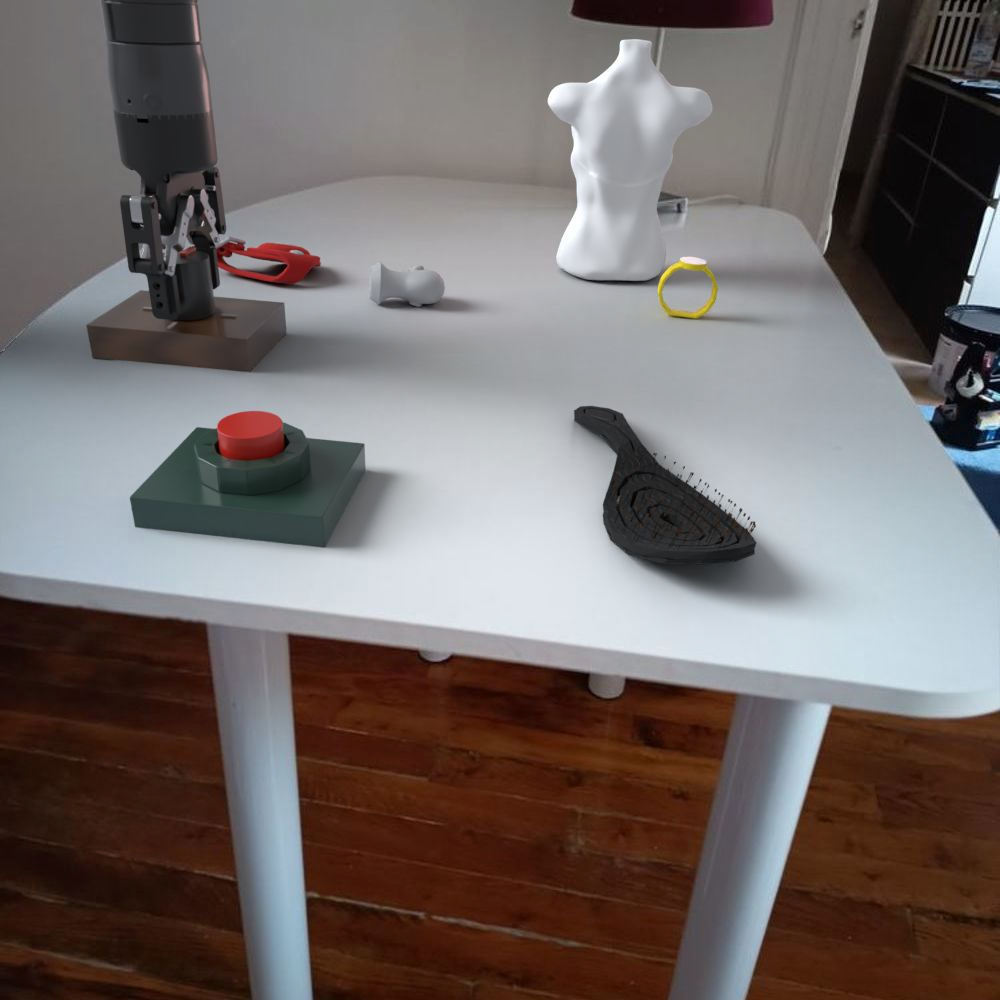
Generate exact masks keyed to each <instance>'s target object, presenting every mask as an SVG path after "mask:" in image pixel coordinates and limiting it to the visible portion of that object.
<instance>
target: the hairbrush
mask: <svg viewBox="0 0 1000 1000" xmlns="http://www.w3.org/2000/svg"><path fill="white" fill-rule="evenodd" d="M573 416H574V417H573V421H574V422H575V423H577V424H578V425H580V426H581V427H583V428H585V429H586V430H588V431H590V432H591V433H594V434H595V435H598V436H599V437H601V439H603V441H604V442H605V443H606V444H607V445H608V447H610V449H611V450H612V452H614V454H616V460H615V463H614V468H613V472H612V475H611V478H610V481H609V484H608V487H607V489H606V493H605V497H604V498H603V499H604V500H603V503H602V510H603V512H602V520H603V526H604V528H605V530H606V532H607V533H606V534H607V535H608V538H609V540H610V541H611V542H612V543H613V544H614V545H616V546H617V547H618V548H619V549H620V550H622V551H623V552H624V553H625V554H626V555H628V556H631V557H634V558H639V559H643V560H647V561H651V562H656V563H659V564H671V565H673V564H675V565H676V564H677V565H681V564H682V565H683V564H684V565H706V564H720V563H721V564H722V563H733V562H739V561H741V560H744V559H747V558H749V557H751V556H754V555H756V549H755V548H756V545H757V543H758V542H757V541H756V539H755V538H754V537H753V535H752V534H751V533H753V532H754V531H755V528H756V527H757V524H756V521H753V520H752V521H751V522H750V523H749V526H748V527H746V524H747V523H748V521H750V519H751V516H750V515H749V516H747V519H746V522H745V525H744V526H743V525H741V523H742V521H743V519H741V520H740V522H738V521H737V519H738V518H739V516H740V515H741V513H743V508H742V507H739V510H738V513H737V516H736V517H733V513H732V512H733V510H731V511H729V512H728V513H727V506H725V507H724V510H723V509H722V504H721V503H720V502H721V501H722V499H723V497H724V494H722V495H721V492H720V491H718V488H715V489H714V493H716V492H717V491H718V494H717V495H718V497H719V496H720V495H721V496H720V497H721V498H720V499H719V501H718V504H715V503H716V499H714V500H713V501H712V500H711V499H710V495H709V494H708V495H707V496H705V495H704V494H703V492H704V493H706V492H707V489H709V487H710V484H709V483H708V482H705V483H704V486H706V490H705V491H704V489H702V490H700V491H699V490H697V489H698V487H699V485H700V483H701V482H702V478H700V479H699V482H698V484H697V485H696V484H695V485H693V486H692V485H690V484H689V482H690V481H691V478H692V477H693V476H694V474H695V473H694V472H693V471H691V472H690V473H689V475H688V478H687V479H686V480H685V481H684V480H683V479H682V476H683V474H682V472H683V471H681V473H680V474H679V473H677V475H675V474H674V473H673V472H671V471H672V469H673V468H674V466H675V465H676V464H677V462H676V461H674V462H673V466H672V467H671V469H670V468H665V467H664V466H662V464H660V463H659V462H658V460H656V457H657V455H658V453H657V452H653V454H652V453H651V452H650V451H649V449H647V447H646V446H645V445H644V444H643V442H642V441H641V440H640V438H639V437H638V435H637V434H636V432H635V431H634V429H633V428H632V427H631V426H630V424H629V422H628V421H627V418H626V417H625V416H624V413H622V412H620V411H617V410H614V409H612V408H609V407H603V406H595V405H581V406H579V407H577V408H576V409H574V410H573ZM663 457H664V459H666V458H667V455H664V456H663ZM685 469H686V466H685V465H684V466H683V467H682V470H685ZM617 501H618V505H617ZM727 503H730V504H729V507H730V505H731V504H733V500H731V498H728V499H727ZM735 507H737V502H736V503H734V504H733V508H735ZM746 515H747V513H746V512H744V513H743V514H742V516H743V517H744V518H745V517H746Z"/></svg>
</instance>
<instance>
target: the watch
mask: <svg viewBox="0 0 1000 1000" xmlns="http://www.w3.org/2000/svg"><path fill="white" fill-rule="evenodd" d="M707 265H708V261H707V260H705V259H703V258H700V257H695V256H681V257H680V258H679V261H678V262H676V263H673V264H671V265H670V266H669V267H668V268H667V269H666V270H665V271H664V272H663V273H662V275H661V277H660V278H659V282H658V285H657V296H658V301H659V305H660V307H661V308H662V309H663V310H664V313H666V314H667V315H668V316H671V317H672V316H673V317H682V318H688V319H695V320H697V319H699V318H700V317H703V316H705V315H706V314H708V312H709V311H710V310H711V309H712V307H713V306H714V305H715V303H716V301H717V296H718V289H719V287H718V283H717V280H716V277H715V275H714V272H713V271H712V269H710V268H709V267H708V266H707ZM682 269H684V270H688V271H694V272H702V271H703V272H704V273H705V274H706V275H707V276H708V277H709V278H710V281H711V283H712V288H711V294H710V297H709V299H708V300H707V301H706V302H705V303H704V306H702V307H700V308H698V309H696V310H695V311H687V310H681V309H674V308H670V307H669V305H668V304H667V303H666V302H665V301H664V297H663V290H664V286H665V283H666V282H667V280H668V279H669V278H670V277H671V276H672V275H673V274H674V272H675V273H676V272H677V271H679V270H682Z"/></svg>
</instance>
